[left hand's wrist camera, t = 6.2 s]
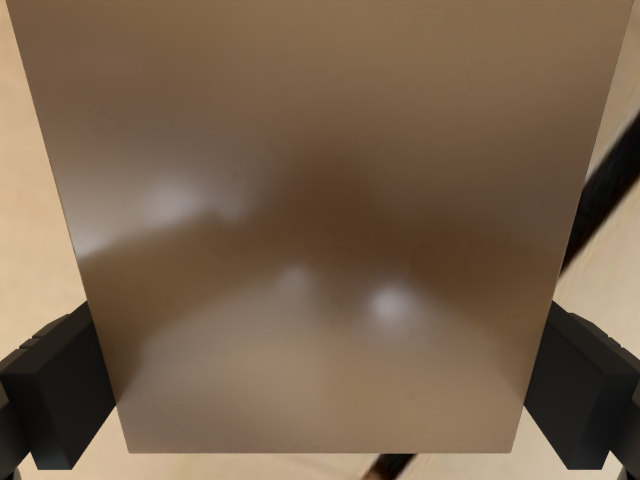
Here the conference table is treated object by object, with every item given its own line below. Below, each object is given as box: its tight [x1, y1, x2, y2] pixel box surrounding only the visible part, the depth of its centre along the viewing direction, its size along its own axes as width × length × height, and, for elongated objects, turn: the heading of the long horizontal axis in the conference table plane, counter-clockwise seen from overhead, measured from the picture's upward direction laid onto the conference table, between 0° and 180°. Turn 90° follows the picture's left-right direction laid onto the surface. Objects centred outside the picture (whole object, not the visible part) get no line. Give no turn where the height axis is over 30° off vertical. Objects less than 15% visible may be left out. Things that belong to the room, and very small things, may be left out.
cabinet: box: [6, 0, 634, 453], centre depth 12 cm, size 17×11×11 cm, turn 0°
